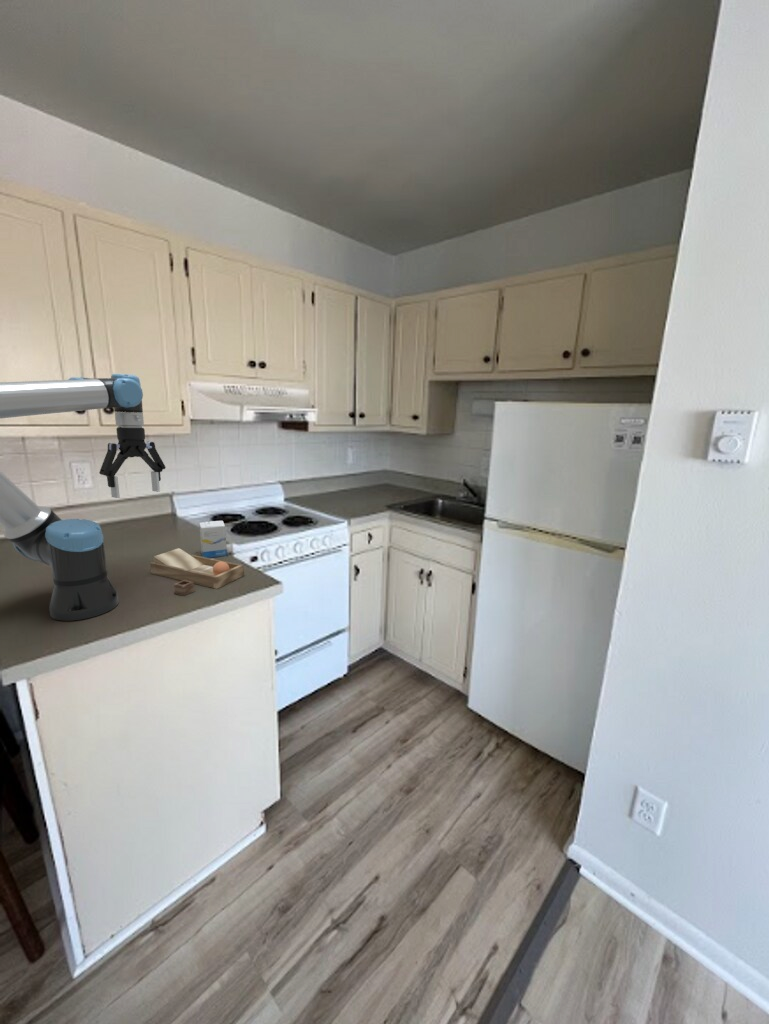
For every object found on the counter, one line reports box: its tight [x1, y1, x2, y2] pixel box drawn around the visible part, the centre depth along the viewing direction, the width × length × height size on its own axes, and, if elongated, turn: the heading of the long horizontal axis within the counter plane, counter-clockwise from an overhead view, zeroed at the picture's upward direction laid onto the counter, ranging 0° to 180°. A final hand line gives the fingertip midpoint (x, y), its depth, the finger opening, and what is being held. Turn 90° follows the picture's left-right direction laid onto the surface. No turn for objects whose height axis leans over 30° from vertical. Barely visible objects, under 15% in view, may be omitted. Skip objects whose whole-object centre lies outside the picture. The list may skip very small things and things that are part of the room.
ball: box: [213, 560, 230, 576], centre depth 135 cm, size 5×5×5 cm
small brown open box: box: [173, 580, 195, 597], centre depth 125 cm, size 4×4×3 cm
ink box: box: [198, 520, 228, 559], centre depth 158 cm, size 9×8×12 cm
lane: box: [149, 547, 245, 590], centre depth 139 cm, size 12×28×6 cm, turn 67°
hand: (136, 494), depth 137 cm, fingers open, 13 cm apart
